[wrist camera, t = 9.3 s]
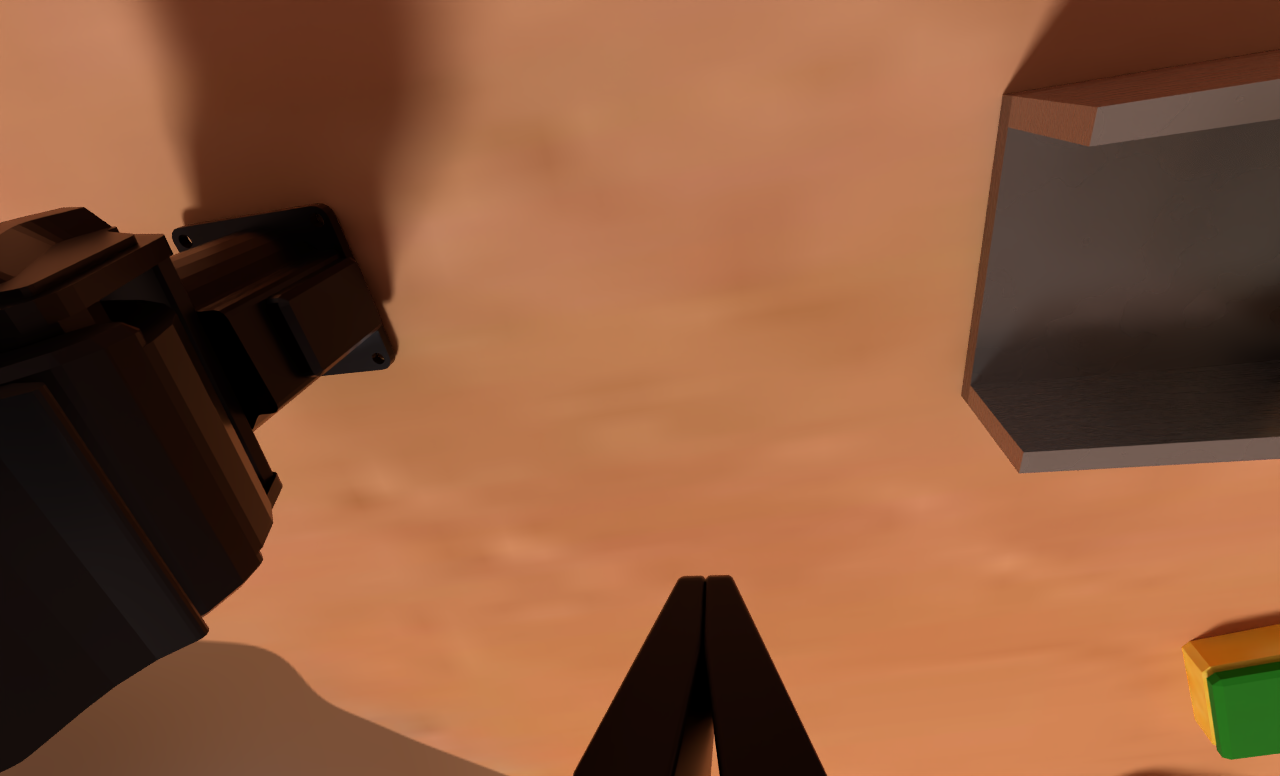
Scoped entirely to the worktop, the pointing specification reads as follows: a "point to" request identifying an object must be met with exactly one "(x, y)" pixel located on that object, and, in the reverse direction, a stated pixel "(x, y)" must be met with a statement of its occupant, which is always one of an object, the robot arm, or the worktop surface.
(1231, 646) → the dish sponge
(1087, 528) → the worktop surface
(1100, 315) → the metal bay
